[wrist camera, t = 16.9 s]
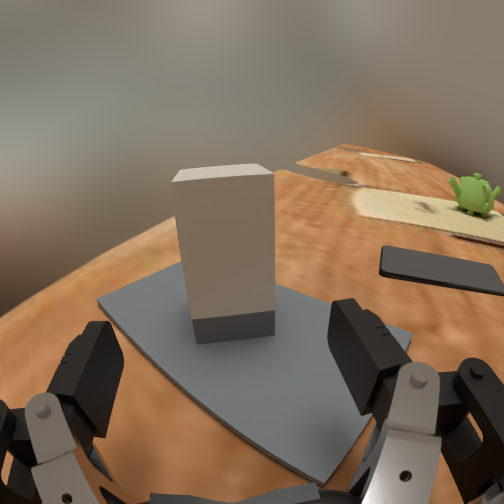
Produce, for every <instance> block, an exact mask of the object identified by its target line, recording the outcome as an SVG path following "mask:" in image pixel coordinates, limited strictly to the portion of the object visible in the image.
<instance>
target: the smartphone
mask: <svg viewBox="0 0 504 504" xmlns="http://www.w3.org/2000/svg"><path fill="white" fill-rule="evenodd" d="M379 274H380V275H381V276H383V277H388V278H394V279H400V280H406V281H412V282H419V283H425V284H431V285H437V286H443V287H449V288H455V289H461V290H467V291H474V292H480V293H486V294H492V295H499V296H504V285H503V283H502V281H501V280H500V278H499V276H498V274H497V273H496V271H495V269H494V268H493V266H491V265H489V264H484V263H479V262H474V261H469V260H464V259H458V258H453V257H448V256H443V255H437V254H432V253H426V252H421V251H415V250H409V249H404V248H398V247H392V246H383V247H382V249H381V259H380V268H379Z"/></svg>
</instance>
